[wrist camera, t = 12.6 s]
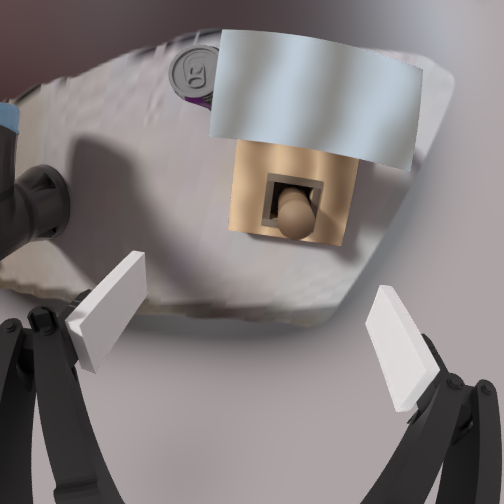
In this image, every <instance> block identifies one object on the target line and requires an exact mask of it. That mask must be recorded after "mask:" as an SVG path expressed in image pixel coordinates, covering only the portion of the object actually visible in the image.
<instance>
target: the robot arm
mask: <svg viewBox="0 0 504 504" xmlns="http://www.w3.org/2000/svg"><path fill="white" fill-rule="evenodd" d="M19 119H20V111H19V108H18V107H17V106H16V105H13V104H7V103H0V261H1V260H2V259H4V258H5V257H7V256H8V255H10V254H11V253H13V252H14V251H16V250H17V249H19V248H21V247H22V246H24V245H25V244H27V243H29V242H34V241H42V240H49V239H52V238H54V237H55V236H57V235H59V234H60V233H61V232H62V231H63V230H64V229H65V227H66V225H67V222H68V219H69V213H70V202H69V196H68V191H67V188H66V185H65V183H64V181H63V179H62V177H61V176H60V174H59V173H58V172H57V171H56V170H55V169H54V168H52V167H51V166H48V165H38V166H35V167H32V168H30V169H28V170H27V171H26V172H24V173H23V174H22V175H21V176H20V177H19V178H17V179H16V180H15V161H16V148H17V139H18V135H19V131H18V128H19ZM147 295H148V293H147V281H146V266H145V252H138V251H132V252H131V253H130V254H129V255H128V256H127V257H126V258H125V259H123V260H122V261H121V262H120V263H119V264H118V265H117V266H116V267H115V268H114V269H113V270H112V271H111V272H110V273H109V274H108V275H107V276H106V277H105V278H104V279H103V280H102V281H101V282H100V283H99V284H98V285H97V286H96V287H95V289H94V290H90V289H88V290H86V291H84V292H82V293H80V294H79V295H78V296H77V297H76V298H75V299H74V301H72V302H71V303H70V304H69V306H68V307H67V308H66V309H65V310H64V311H63V312H62V313H61V314H60V315H59V316H58V317H56V314H55V310H54V308H53V307H51V306H49V305H40V306H37V307H35V308H33V309H32V310H31V311H30V312H29V313H28V316H27V318H28V320H29V323H30V326H31V328H32V329H28V328H23V326H22V323H21V321H20V320H18V319H16V318H12V319H8V320H5V321H4V322H3V323H2V324H1V325H0V504H33V495H32V479H31V478H32V476H31V448H32V429H33V417H34V406H35V399H36V392H37V400H38V407H39V414H40V420H41V425H42V431H43V435H44V440H45V445H46V449H47V453H48V457H49V461H50V465H51V468H52V472H53V475H54V478H55V482H56V489H55V490H54V499H55V502H56V504H125V503H124V501H123V500H122V498H121V496H120V495H119V492H118V490H117V488H116V486H115V484H114V482H113V479H112V477H111V475H110V473H109V471H108V468H107V466H106V463H105V461H104V459H103V456H102V453H101V452H100V448H99V446H98V443H97V440H96V437H95V435H94V432H93V429H92V426H91V423H90V420H89V416H88V413H87V410H86V406H85V403H84V399H83V396H82V392H81V388H80V384H79V380H78V376H77V371H76V368H75V366H74V365H75V363H76V362H77V361H78V360H79V363H80V365H81V368H82V369H85V370H87V371H90V372H93V373H95V374H96V372H97V371H98V369H99V367H100V365H101V364H102V362H103V361H104V359H105V358H106V356H107V355H108V353H109V351H110V350H111V348H112V347H113V345H114V344H115V342H116V340H117V339H118V337H119V336H120V334H121V333H122V331H123V330H124V328H125V327H126V325H127V324H128V322H129V321H130V319H131V318H132V316H133V315H134V313H135V312H136V311H137V309H138V308H139V306H140V305H141V303H142V302H143V300H144V299H145V297H146V296H147ZM365 325H366V327H367V330H368V332H369V335H370V338H371V340H372V343H373V345H374V348H375V351H376V354H377V357H378V359H379V362H380V365H381V368H382V371H383V374H384V376H385V379H386V382H387V385H388V388H389V391H390V395H391V398H392V401H393V404H394V407H395V410H396V412H404V411H410V410H411V409H412V407H413V406H414V405H415V404H416V403H417V406H418V410H417V412H416V413H415V414H414V415H413V416H412V417H411V419H410V420H409V421H408V422H407V423H408V424H409V423H410V425H409V426H408V428H407V430H406V432H405V434H404V436H403V438H402V440H401V441H400V443H399V445H398V447H397V449H396V450H395V452H394V454H393V455H392V457H391V459H390V460H389V462H388V464H387V465H386V467H385V469H384V470H383V472H382V473H381V475H380V476H379V478H378V479H377V481H376V482H375V484H374V485H373V487H372V488H371V490H370V491H369V492H368V494H367V495H366V496H365V498H364V499H363V501H362V502H361V503H360V504H424V502H425V500H426V498H427V496H428V494H429V492H430V490H431V488H432V486H433V484H434V481H435V479H436V477H437V475H438V472H439V470H440V468H441V465H442V463H443V468H442V474H441V480H440V485H439V490H438V494H437V499H436V503H435V504H499V501H500V492H501V475H502V442H501V425H500V415H499V406H498V399H497V392H496V389H495V387H494V385H493V384H492V383H491V382H490V381H487V380H483V379H482V380H479V382H478V383H477V384H476V386H475V387H473V386H468V385H465V384H464V382H463V380H462V379H461V378H460V377H459V376H458V375H456V374H453V373H449V372H448V370H447V368H446V367H445V364H444V363H443V361H442V359H441V357H440V355H439V354H438V352H437V350H436V349H435V346H434V345H433V343H432V341H431V340H430V339H429V338H428V337H427V336H426V335H425V334H420V332H419V330H418V328H417V327H416V325H415V323H414V322H413V320H412V318H411V317H410V315H409V313H408V312H407V310H406V308H405V307H404V305H403V304H402V302H401V300H400V299H399V297H398V295H397V294H396V292H395V291H394V289H393V288H392V286H386V285H380V287H379V290H378V292H377V295H376V298H375V300H374V303H373V306H372V308H371V311H370V313H369V316H368V318H367V321H366V323H365ZM443 460H444V461H443Z"/></svg>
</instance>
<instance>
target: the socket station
mask: <svg viewBox="0 0 504 504" xmlns="http://www.w3.org/2000/svg"><path fill="white" fill-rule="evenodd" d="M422 76H423V69H420V68H418V67H415V66H413V65H410V64H407V63H405V62H402V61H399V60H396V59H393V58H390V57H387V56H384V55H381V54H378V53H375V52H371V51H368V50H364V49H361V48H357V47H353V46H349V45H345V44H340V43H336V42H331V41H327V40H322V39H316V38H311V37H305V36H298V35H291V34H283V33H273V32H262V31H249V30H222V35H221V41H220V48H219V55H218V62H217V69H216V76H215V84H214V92H213V100H212V109H211V118H210V127H209V137H218V138H230V139H237V148H236V157H235V166H234V176H233V186H232V196H231V206H230V217H229V227H228V230H233V231H240V232H247V233H254V234H261V235H268V236H275V237H282V238H287V237H285V236H284V235H283V234H282V233H281V232H280V230H279V227H278V212H274V211H270V210H271V203H272V196H273V189H274V182H281V183H288V184H294V185H301V186H307V187H310V189H309V195H308V202H309V204H310V207H311V209H312V212H313V214H314V217H315V227H314V229H313V231H312V233H311V234H310V235H309V236H307V237H306V238H304V239H301V240H302V241H309V242H316V243H322V244H329V245H335V246H341V244H342V240H343V236H344V232H345V228H346V223H347V219H348V214H349V210H350V205H351V200H352V195H353V190H354V185H355V180H356V175H357V169H358V164H359V159H362V160H366V161H371V162H375V163H379V164H383V165H387V166H391V167H394V168H398V169H402V170H405V171H409V172H410V170H411V165H412V160H413V154H414V148H415V142H416V135H417V128H418V120H419V112H420V102H421V91H422Z"/></svg>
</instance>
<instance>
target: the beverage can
mask: <svg viewBox="0 0 504 504" xmlns="http://www.w3.org/2000/svg"><path fill="white" fill-rule="evenodd" d="M218 55H219V49H218V48H215V47H212V46H207V45H194V46H191V47H188V48H186V49H184V50H182V51H181V52H180V53H178V54H177V55H176V57H175V58H174V59H173V61H172V62H171V65H170V68H169V74H168V75H169V81H170V84H171V86H172V87H173V89H174V91H175V93H176V94H177V95H178V96H179V97H180V98H182V99H183V100H185V101H188V102H191V103H194V104H197V105H200V106H203V107H206V108H209V109H212V100H213V92H214V84H215V76H216V69H217V62H218Z"/></svg>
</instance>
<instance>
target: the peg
mask: <svg viewBox="0 0 504 504" xmlns="http://www.w3.org/2000/svg"><path fill="white" fill-rule="evenodd" d="M278 227H279V230H280V232H281V233H282V234H283V235H284V236H285V237H287V238H289V239H292V240H301V239H304V238H306V237H307V236H309V235H310V234H311V233H312V231H313V229H314V227H315V217H314V214H313V212H312V209H311V207H310V204H309V202H308V199H307V197H306V195H305V192H304V190H303V189H302V188H301V187H300V186H298V185H294V184H289V185H286V186H284V187H283V188H282V189H281V190H280V192H279V196H278Z"/></svg>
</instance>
